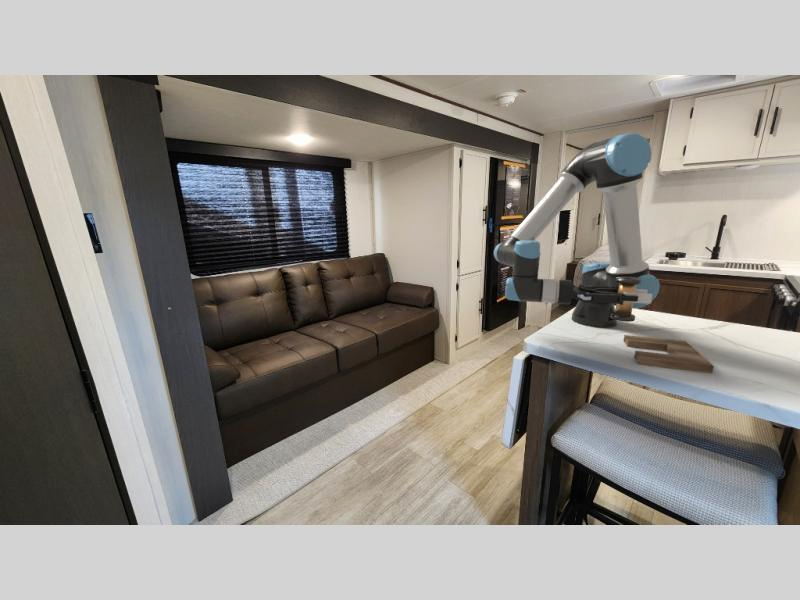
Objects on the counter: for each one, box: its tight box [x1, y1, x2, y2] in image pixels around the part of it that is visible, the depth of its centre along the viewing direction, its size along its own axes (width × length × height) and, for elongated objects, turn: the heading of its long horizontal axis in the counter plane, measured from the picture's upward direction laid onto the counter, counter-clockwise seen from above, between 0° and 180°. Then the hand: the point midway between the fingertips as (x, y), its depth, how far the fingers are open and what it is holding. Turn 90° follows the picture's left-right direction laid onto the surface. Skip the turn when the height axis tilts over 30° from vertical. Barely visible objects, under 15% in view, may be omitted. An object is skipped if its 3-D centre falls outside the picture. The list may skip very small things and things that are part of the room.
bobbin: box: [610, 277, 641, 323], centre depth 93 cm, size 6×6×12 cm
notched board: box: [623, 334, 715, 374], centre depth 95 cm, size 18×16×2 cm
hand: (648, 296), depth 91 cm, fingers closed on bobbin, 4 cm apart
